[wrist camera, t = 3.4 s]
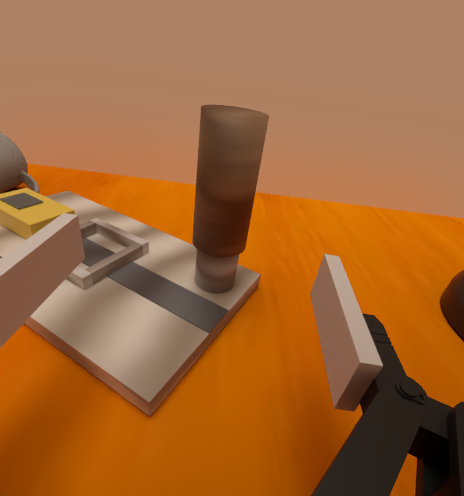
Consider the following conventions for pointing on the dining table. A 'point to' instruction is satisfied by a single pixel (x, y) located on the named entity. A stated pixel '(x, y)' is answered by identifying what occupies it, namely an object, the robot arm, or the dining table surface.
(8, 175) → the ceramic mug
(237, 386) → the dining table surface
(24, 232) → the block
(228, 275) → the brown tall rounded piece
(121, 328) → the subfloor panel
